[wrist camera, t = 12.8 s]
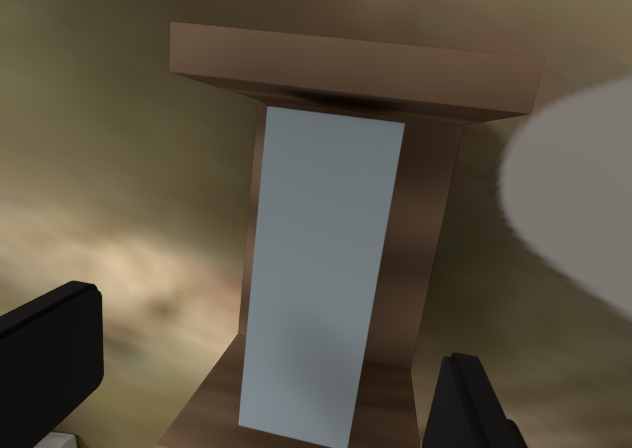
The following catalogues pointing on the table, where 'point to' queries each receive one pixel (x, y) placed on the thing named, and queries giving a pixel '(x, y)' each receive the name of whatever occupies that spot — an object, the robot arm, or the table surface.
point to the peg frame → (406, 204)
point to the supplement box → (58, 441)
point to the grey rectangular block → (315, 270)
